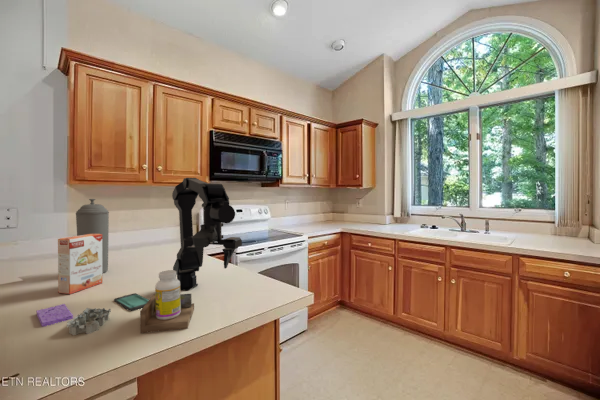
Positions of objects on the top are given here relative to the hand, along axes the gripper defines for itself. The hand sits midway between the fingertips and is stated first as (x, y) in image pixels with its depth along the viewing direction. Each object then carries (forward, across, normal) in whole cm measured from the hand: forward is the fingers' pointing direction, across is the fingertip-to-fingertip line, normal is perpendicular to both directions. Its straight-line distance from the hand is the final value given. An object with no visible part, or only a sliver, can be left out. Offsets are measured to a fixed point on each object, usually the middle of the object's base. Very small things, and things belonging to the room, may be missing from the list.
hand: (212, 267), depth 94 cm
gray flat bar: (+11, -8, -9) cm, 16 cm away
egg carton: (+14, -27, -20) cm, 37 cm away
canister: (+13, -75, +22) cm, 79 cm away
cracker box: (+13, -60, +4) cm, 62 cm away
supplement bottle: (+11, -6, -14) cm, 19 cm away
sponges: (+14, -43, -18) cm, 49 cm away
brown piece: (+13, -7, -13) cm, 19 cm away
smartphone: (+14, -28, -4) cm, 32 cm away
